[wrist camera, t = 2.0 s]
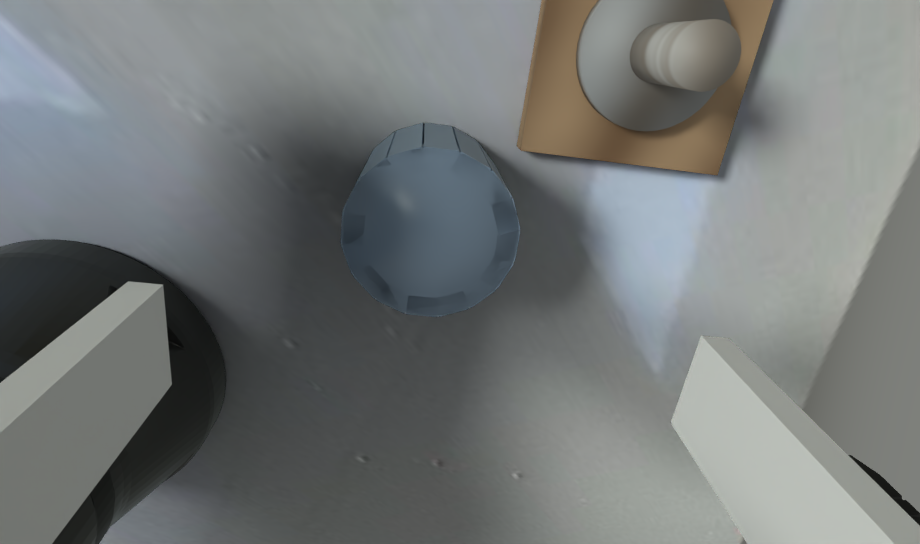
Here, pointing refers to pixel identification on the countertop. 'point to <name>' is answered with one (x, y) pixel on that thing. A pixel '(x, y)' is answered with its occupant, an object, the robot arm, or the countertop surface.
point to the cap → (430, 222)
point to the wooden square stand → (640, 79)
